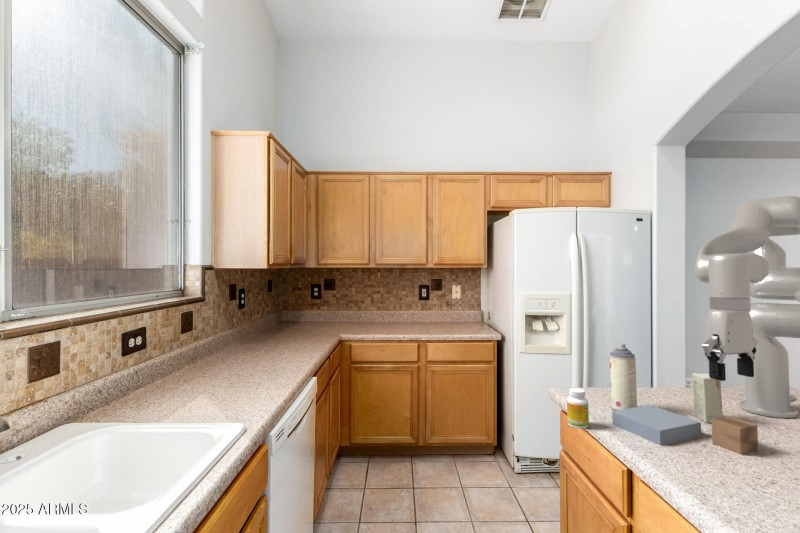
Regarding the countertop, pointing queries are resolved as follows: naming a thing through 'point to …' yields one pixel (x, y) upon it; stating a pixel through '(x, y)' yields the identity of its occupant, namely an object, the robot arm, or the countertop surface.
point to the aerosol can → (623, 379)
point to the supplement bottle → (577, 409)
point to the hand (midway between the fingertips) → (731, 377)
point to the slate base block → (656, 424)
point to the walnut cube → (735, 435)
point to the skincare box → (707, 397)
